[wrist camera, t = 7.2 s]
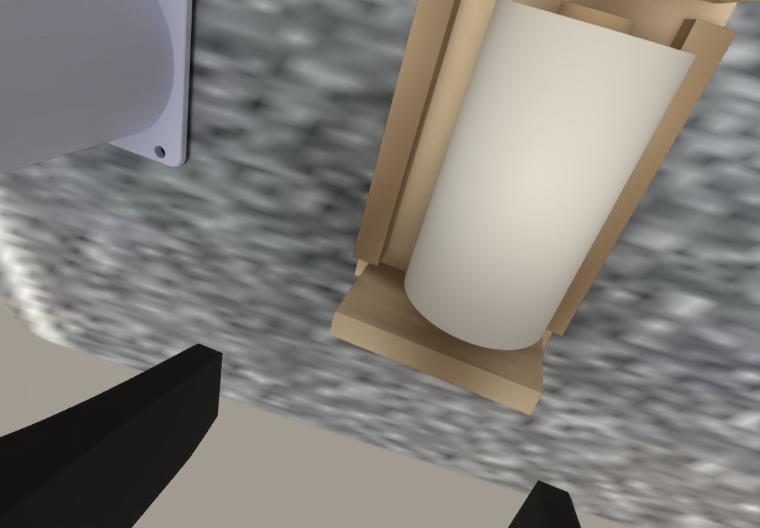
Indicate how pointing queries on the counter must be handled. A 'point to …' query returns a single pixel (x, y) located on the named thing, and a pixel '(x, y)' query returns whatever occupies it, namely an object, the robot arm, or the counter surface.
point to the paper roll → (535, 167)
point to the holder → (423, 164)
